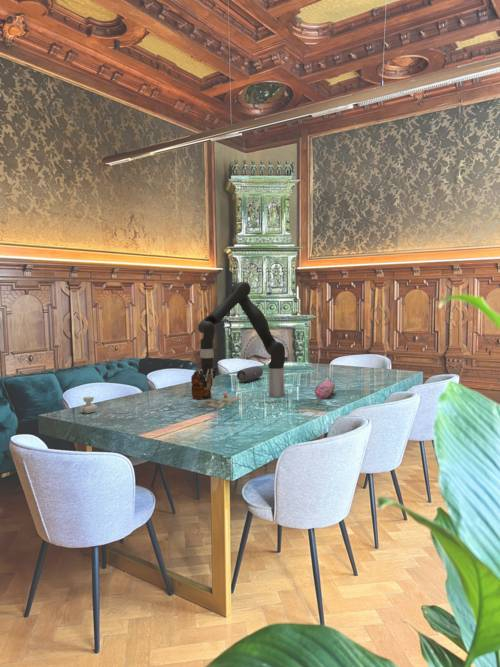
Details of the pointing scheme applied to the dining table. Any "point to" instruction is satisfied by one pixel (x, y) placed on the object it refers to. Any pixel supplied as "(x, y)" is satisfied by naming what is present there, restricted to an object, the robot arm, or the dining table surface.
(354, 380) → the dining table surface
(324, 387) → the pencil case
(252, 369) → the bluetooth speaker
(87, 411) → the stamp
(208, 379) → the walnut pin
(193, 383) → the wooden figurine
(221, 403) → the board
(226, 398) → the key plate
